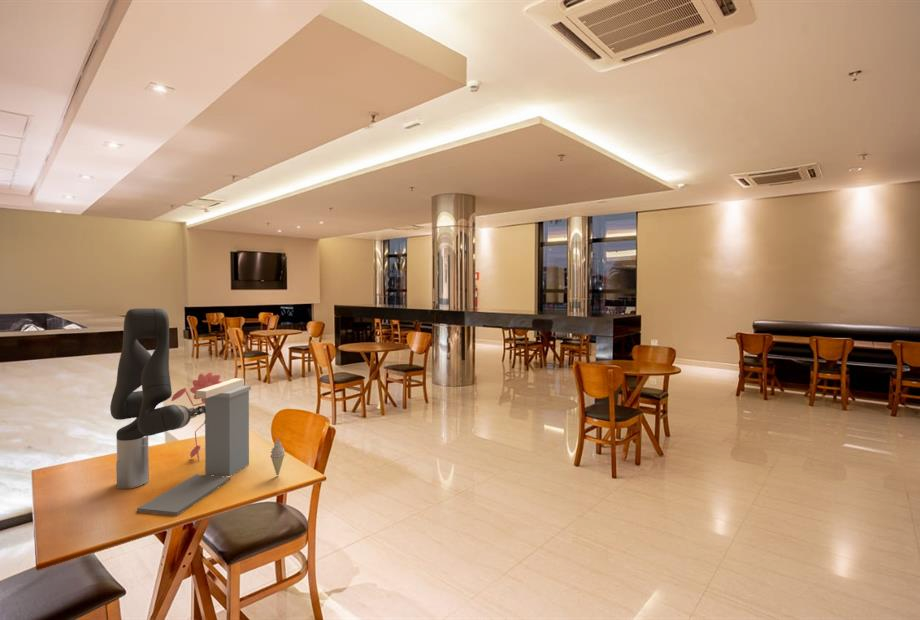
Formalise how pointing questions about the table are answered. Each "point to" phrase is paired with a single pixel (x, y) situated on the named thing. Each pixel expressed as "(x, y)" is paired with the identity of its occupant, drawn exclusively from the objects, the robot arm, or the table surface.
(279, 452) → the ice cream cone
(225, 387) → the slat
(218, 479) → the mat
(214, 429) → the pedestal
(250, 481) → the table surface
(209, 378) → the figurine
